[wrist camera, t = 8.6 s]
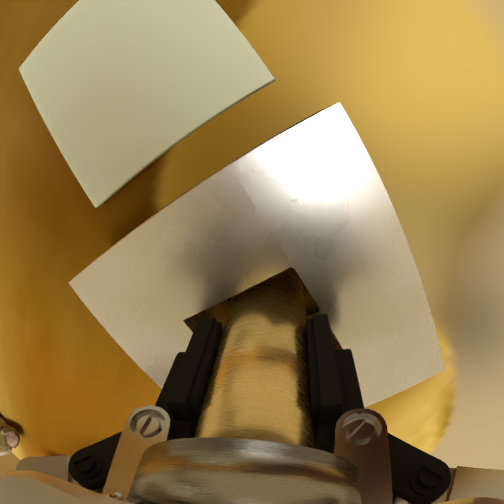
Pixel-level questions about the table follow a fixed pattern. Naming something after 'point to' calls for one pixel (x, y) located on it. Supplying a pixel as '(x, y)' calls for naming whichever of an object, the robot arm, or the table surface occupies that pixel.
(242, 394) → the metal bolt
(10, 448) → the ceramic sculpture
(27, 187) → the table surface
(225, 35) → the mat
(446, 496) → the robot arm
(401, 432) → the table surface
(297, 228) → the plate
